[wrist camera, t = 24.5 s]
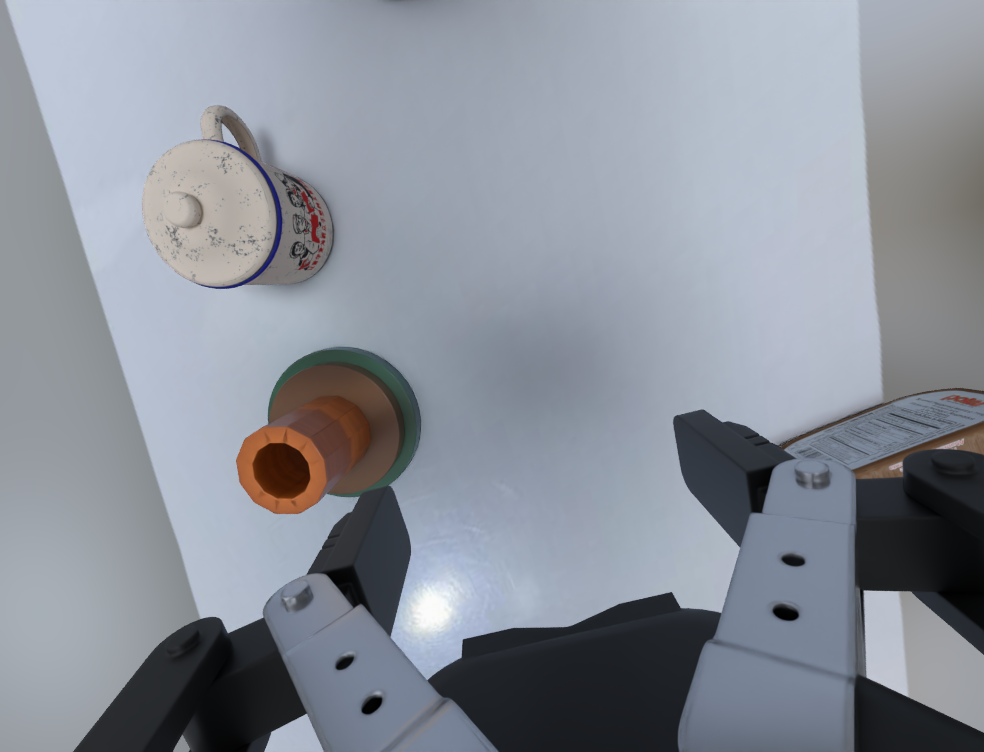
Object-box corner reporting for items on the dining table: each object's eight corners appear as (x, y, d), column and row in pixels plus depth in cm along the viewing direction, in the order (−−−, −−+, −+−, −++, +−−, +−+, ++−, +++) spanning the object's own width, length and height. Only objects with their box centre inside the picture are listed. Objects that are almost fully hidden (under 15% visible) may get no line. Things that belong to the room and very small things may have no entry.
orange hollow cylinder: (294, 397, 38) (230, 427, 30) (366, 395, 37) (320, 426, 29) (303, 467, 39) (244, 514, 31) (373, 466, 38) (330, 514, 30)
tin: (759, 482, 38) (819, 537, 30) (745, 449, 38) (802, 495, 30) (954, 408, 36) (1078, 445, 27) (941, 371, 35) (1063, 398, 27)
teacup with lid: (345, 281, 38) (264, 281, 27) (243, 292, 39) (123, 296, 28) (321, 124, 36) (221, 51, 25) (213, 140, 37) (69, 77, 26)
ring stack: (254, 371, 41) (232, 378, 38) (390, 327, 39) (378, 331, 36) (309, 504, 43) (292, 521, 40) (441, 469, 41) (433, 484, 38)
